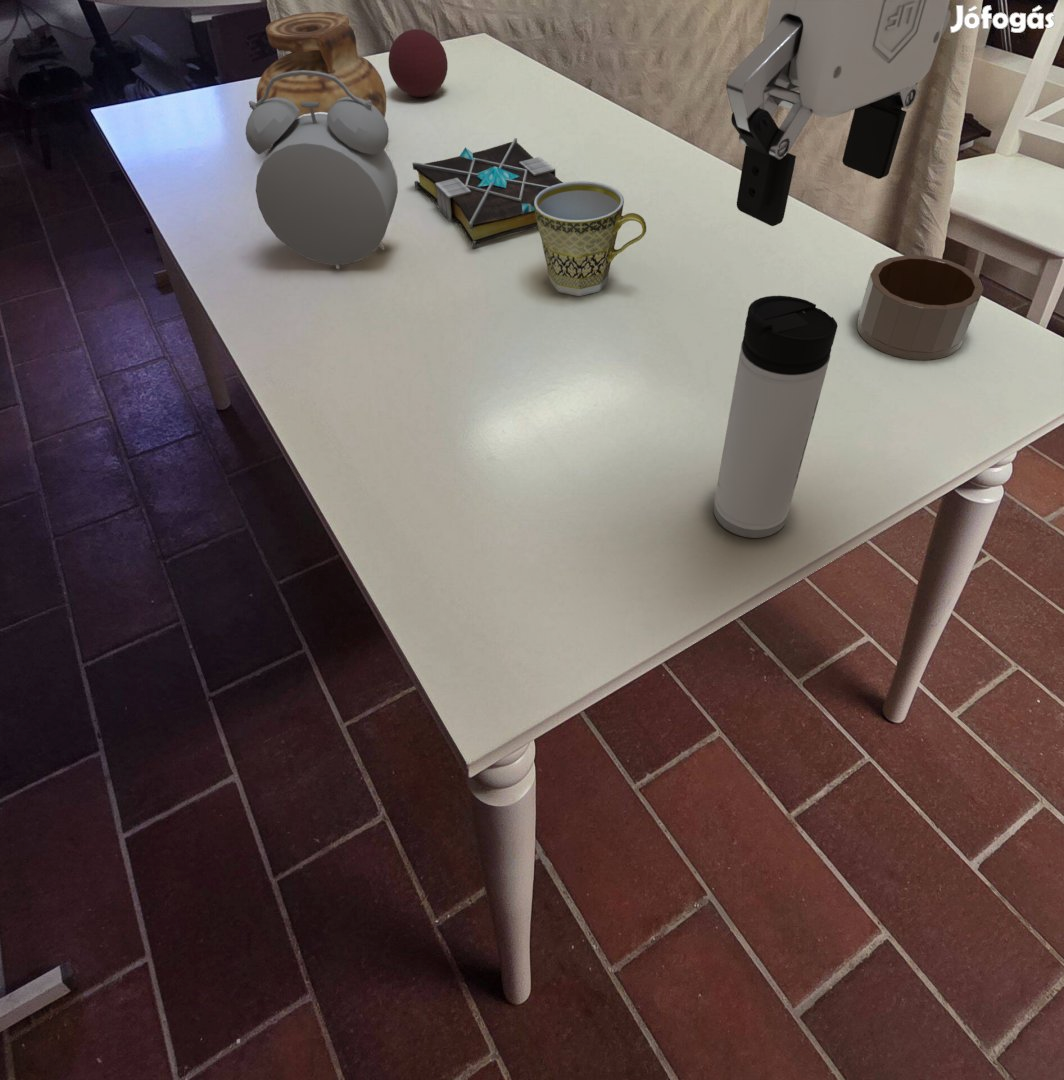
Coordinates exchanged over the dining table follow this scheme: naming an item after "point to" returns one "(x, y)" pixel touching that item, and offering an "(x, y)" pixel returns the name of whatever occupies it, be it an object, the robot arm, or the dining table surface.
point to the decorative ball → (418, 63)
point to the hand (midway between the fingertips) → (813, 193)
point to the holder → (918, 306)
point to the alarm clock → (324, 174)
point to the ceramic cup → (581, 233)
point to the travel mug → (771, 412)
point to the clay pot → (319, 62)
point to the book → (488, 189)
